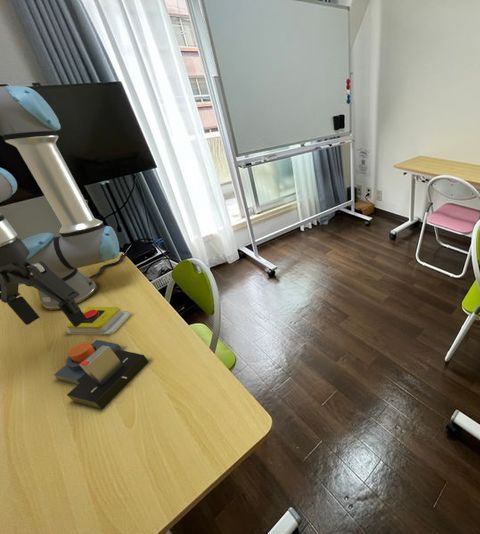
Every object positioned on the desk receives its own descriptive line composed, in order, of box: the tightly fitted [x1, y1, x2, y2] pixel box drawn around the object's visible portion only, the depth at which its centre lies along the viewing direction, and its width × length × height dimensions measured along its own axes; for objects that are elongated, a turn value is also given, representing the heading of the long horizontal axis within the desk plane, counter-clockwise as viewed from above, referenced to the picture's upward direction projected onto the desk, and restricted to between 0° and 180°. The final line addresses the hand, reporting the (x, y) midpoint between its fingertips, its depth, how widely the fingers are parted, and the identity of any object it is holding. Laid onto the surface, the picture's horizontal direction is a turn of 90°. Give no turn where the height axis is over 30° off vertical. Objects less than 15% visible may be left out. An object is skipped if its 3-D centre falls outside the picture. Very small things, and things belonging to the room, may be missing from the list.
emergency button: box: [66, 306, 131, 336], centre depth 93 cm, size 9×4×15 cm
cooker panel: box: [66, 350, 149, 410], centre depth 76 cm, size 14×11×3 cm
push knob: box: [67, 341, 95, 363], centre depth 79 cm, size 5×5×3 cm
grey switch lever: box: [80, 345, 124, 385], centre depth 73 cm, size 6×2×8 cm, turn 166°
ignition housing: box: [53, 339, 123, 385], centre depth 81 cm, size 12×8×4 cm, turn 166°
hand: (56, 321), depth 71 cm, fingers open, 13 cm apart
